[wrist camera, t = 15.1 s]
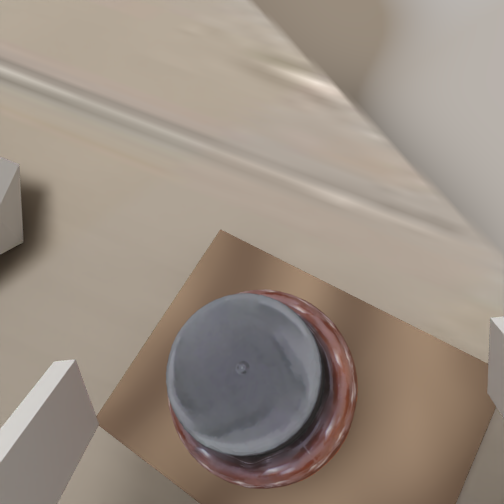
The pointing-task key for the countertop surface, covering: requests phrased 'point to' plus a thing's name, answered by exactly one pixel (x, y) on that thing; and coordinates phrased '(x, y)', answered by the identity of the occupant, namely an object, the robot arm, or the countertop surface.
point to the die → (10, 205)
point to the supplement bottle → (261, 388)
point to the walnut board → (367, 406)
